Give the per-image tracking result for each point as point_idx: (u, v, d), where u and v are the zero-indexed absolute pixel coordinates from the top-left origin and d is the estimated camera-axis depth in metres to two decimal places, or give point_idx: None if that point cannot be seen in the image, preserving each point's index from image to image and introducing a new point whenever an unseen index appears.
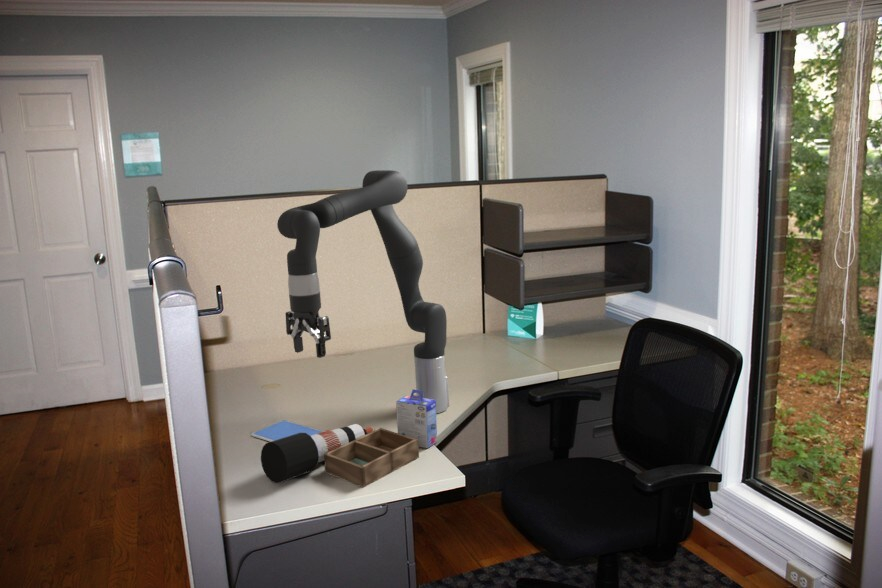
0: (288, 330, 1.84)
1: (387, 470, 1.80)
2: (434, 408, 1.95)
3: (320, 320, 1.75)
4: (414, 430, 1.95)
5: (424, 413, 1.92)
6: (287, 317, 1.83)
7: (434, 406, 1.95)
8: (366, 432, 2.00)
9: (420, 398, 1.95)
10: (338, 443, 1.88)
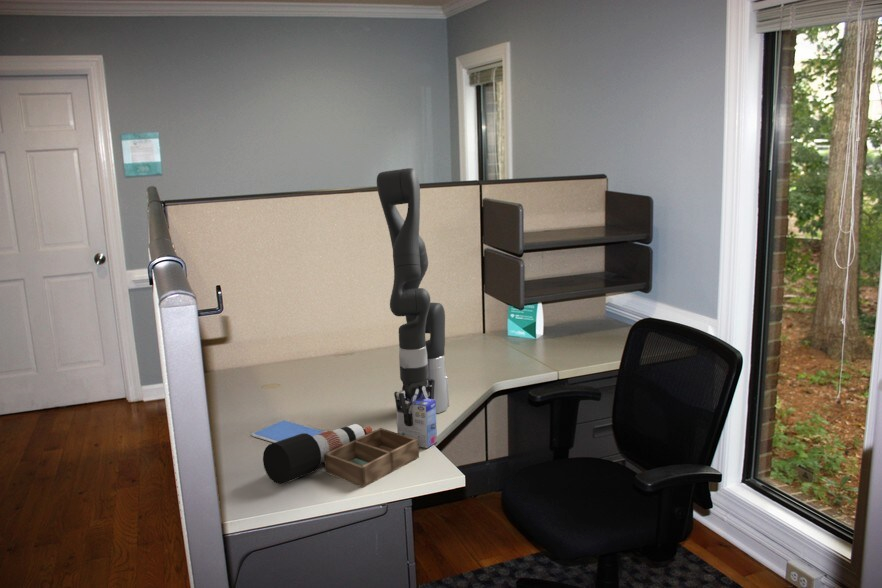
0: (405, 409, 1.91)
1: (387, 470, 1.80)
2: (433, 408, 1.95)
3: (434, 381, 1.99)
4: (414, 429, 1.95)
5: (424, 413, 1.92)
6: (403, 397, 1.90)
7: (434, 406, 1.95)
8: (366, 432, 2.00)
9: (420, 398, 1.95)
10: (339, 443, 1.88)
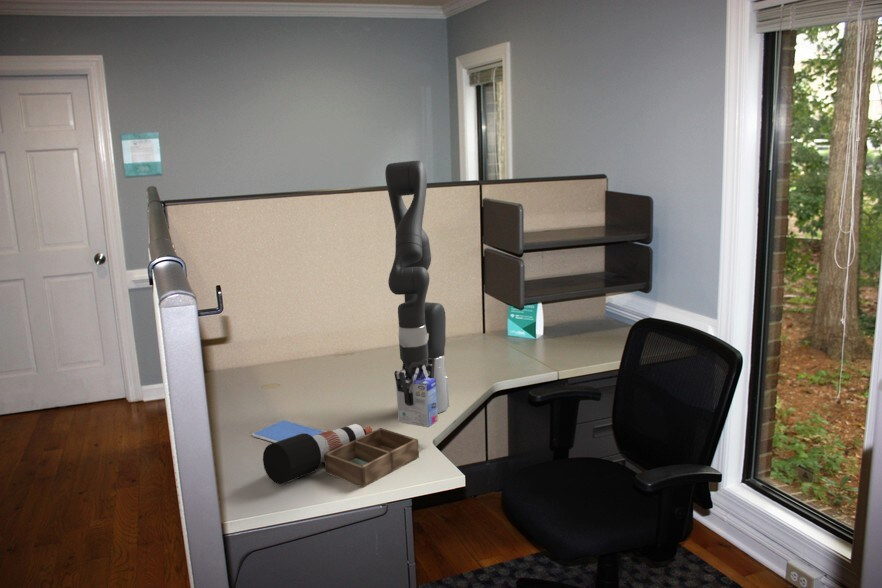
0: (406, 388, 1.90)
1: (387, 470, 1.80)
2: (434, 387, 1.94)
3: (434, 360, 1.98)
4: (414, 409, 1.94)
5: (424, 392, 1.91)
6: (403, 376, 1.89)
7: (434, 385, 1.94)
8: (366, 432, 2.00)
9: (420, 377, 1.94)
10: (339, 443, 1.88)
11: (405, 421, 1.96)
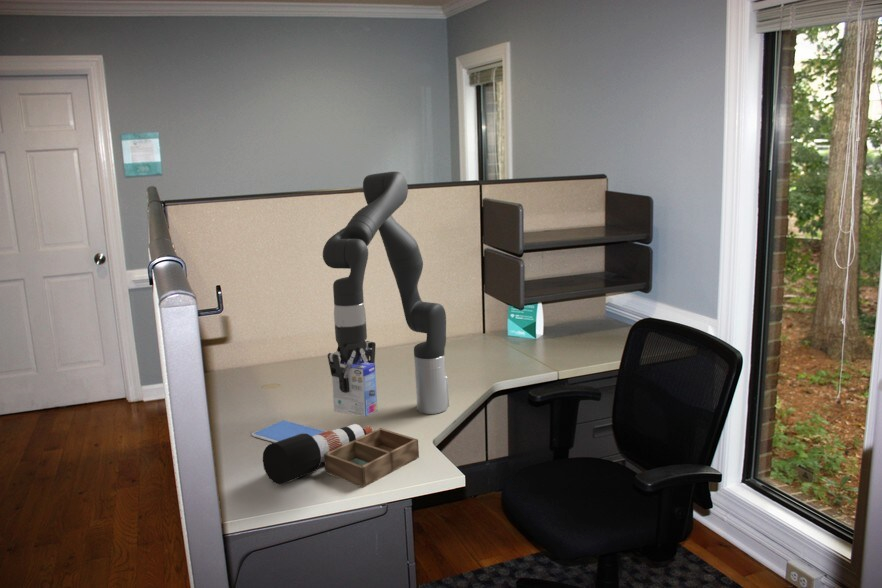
0: (340, 372, 1.72)
1: (387, 470, 1.80)
2: (373, 373, 1.76)
3: (374, 344, 1.80)
4: (350, 396, 1.76)
5: (361, 377, 1.73)
6: (337, 359, 1.71)
7: (373, 370, 1.76)
8: (365, 432, 2.00)
9: (358, 361, 1.76)
10: (339, 443, 1.88)
11: (341, 410, 1.78)
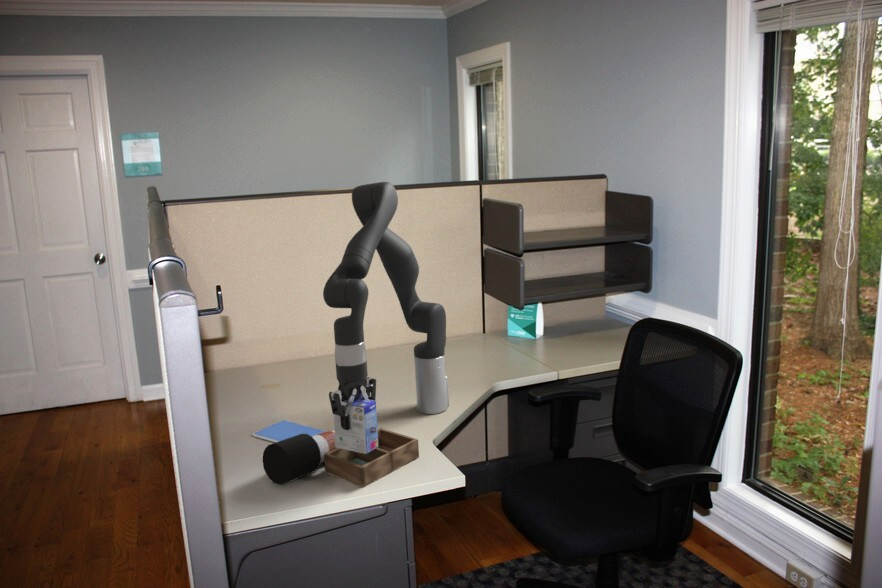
0: (341, 411, 1.74)
1: (387, 470, 1.80)
2: (373, 410, 1.77)
3: (375, 380, 1.82)
4: (352, 433, 1.77)
5: (362, 415, 1.75)
6: (338, 398, 1.72)
7: (374, 408, 1.78)
8: None
9: (359, 399, 1.78)
10: None
11: (342, 446, 1.79)
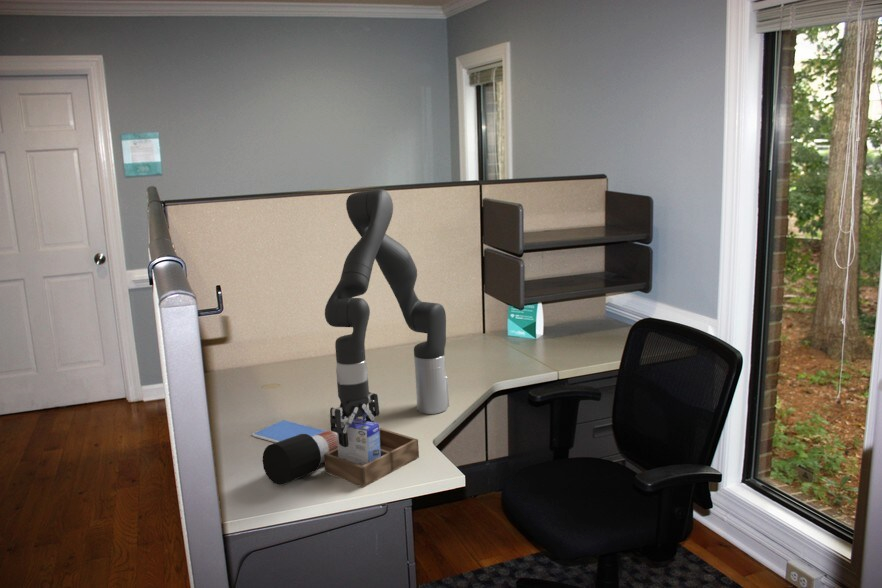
0: (339, 428, 1.74)
1: (387, 470, 1.80)
2: (376, 433, 1.79)
3: (376, 395, 1.82)
4: (355, 456, 1.79)
5: (365, 438, 1.76)
6: (339, 414, 1.73)
7: (377, 430, 1.79)
8: None
9: (362, 421, 1.79)
10: None
11: None
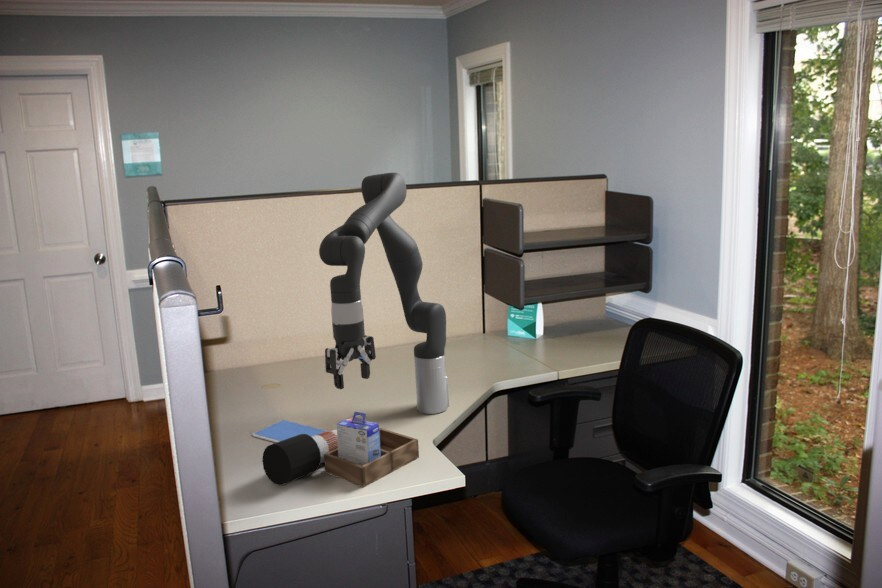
0: (335, 369, 1.71)
1: (387, 470, 1.80)
2: (376, 433, 1.79)
3: (372, 338, 1.79)
4: (355, 456, 1.79)
5: (365, 438, 1.76)
6: (334, 355, 1.70)
7: (377, 430, 1.79)
8: None
9: (362, 421, 1.79)
10: None
11: None
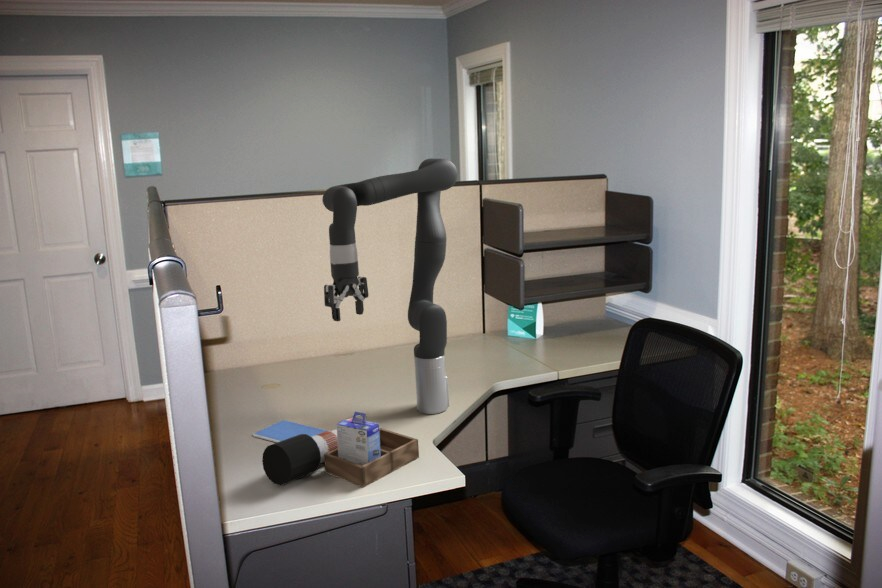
0: (332, 302, 1.96)
1: (387, 470, 1.80)
2: (376, 433, 1.79)
3: (366, 278, 2.04)
4: (355, 456, 1.79)
5: (365, 438, 1.76)
6: (332, 290, 1.95)
7: (377, 430, 1.79)
8: None
9: (362, 421, 1.79)
10: None
11: None
